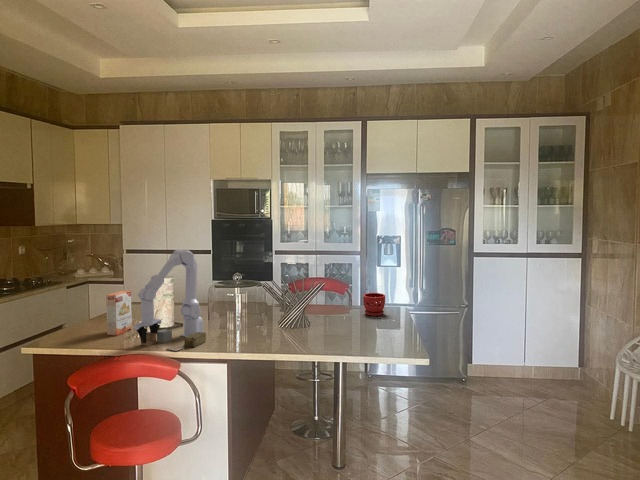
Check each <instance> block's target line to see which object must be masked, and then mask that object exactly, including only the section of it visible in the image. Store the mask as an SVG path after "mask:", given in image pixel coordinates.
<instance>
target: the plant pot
mask: <svg viewBox="0 0 640 480" xmlns="http://www.w3.org/2000/svg"><path fill="white" fill-rule="evenodd" d="M362 298H363V300H362V301H363V306H364V314H365V315H368V316H373V317H376V316H382V315H383V314H385V313H384V312H385V310H384V309H385V305H386V294H384V293H379V292H367V293H364V294H363V297H362Z"/></svg>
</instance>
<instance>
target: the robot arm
mask: <svg viewBox="0 0 640 480" xmlns="http://www.w3.org/2000/svg"><path fill="white" fill-rule="evenodd" d="M166 261H167V262H166V263H165V264H164V266H163V267H162V268H161V269H160V271H159V272H158V273H157V274H154V275H152V276H151V277H150V280H149V281H148V282H147V284H145V285H144V287H142V288H140V290H139V293H138V294H137V296H138V298H139V299H140V313H141V319H140V322H138V323H137V324H134V325H133V330H136V332H137V333H138V335H139V337H140V343H141V342H142V343H146V333H148V328H149V332H151V333H156V335H157V331H159V329H160V324H162V319H161V318H158V319H156V318H155V303H154V299H155V298H156V296H157V293H158V291H159V289H160V288H161V287H162V285H164V283H165V278H166V277H167V276H168V275H169V274H170V272H172V270H173V269H174V268H175V267H176V266H181V265H182V266H183V267H184V268H185V291H184V293H185V296H184V300H183V301H182V305H181V308H180V312H181V314H182V316H183V334H180V337H186V336H188V335H191V334H193V333H197V332H204V320H203V317H201V316H200V315H201V312H202V311H201V307H200V303H199V301H198V300H197V290H198V289H197V285H198V280H197V279H198V264H197V260H196V259H195V254H194V253H193V252H192V251H191V250H187V249H184V250H183V249H179V248H177V249H175V250H174V251H172V253H171V254H170V256H169V258H168V260H166ZM147 327H148V328H147Z"/></svg>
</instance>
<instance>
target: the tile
mask: <svg viewBox="0 0 640 480" xmlns="http://www.w3.org/2000/svg"><path fill="white" fill-rule="evenodd" d="M186 348H187V347H186V346H179V345H176V346H172V347H169V348H165V351H168V350H170V351H169V352H173V351H174V353H177V351H178V352H180V350H181V351H183V349H184V350H186Z"/></svg>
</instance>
